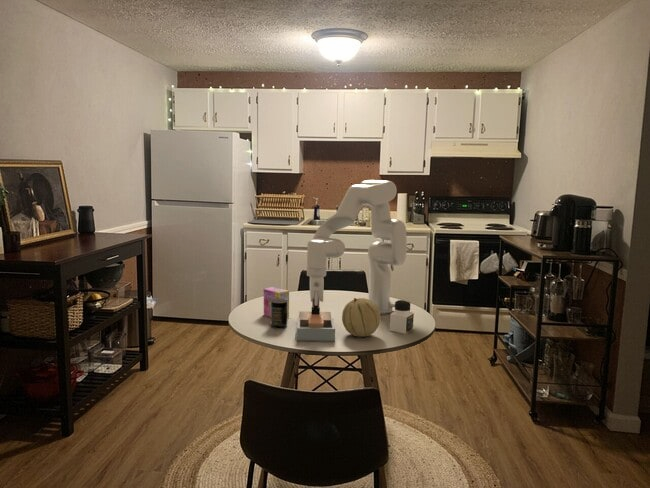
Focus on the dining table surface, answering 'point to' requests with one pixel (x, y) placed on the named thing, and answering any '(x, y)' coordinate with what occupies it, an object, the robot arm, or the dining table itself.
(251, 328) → the dining table surface
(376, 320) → the cantaloupe
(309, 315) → the tile rear
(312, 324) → the tile front
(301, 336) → the tray
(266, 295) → the box
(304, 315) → the brown flat block
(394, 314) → the medicine bottle
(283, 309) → the supplement container
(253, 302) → the dining table surface
